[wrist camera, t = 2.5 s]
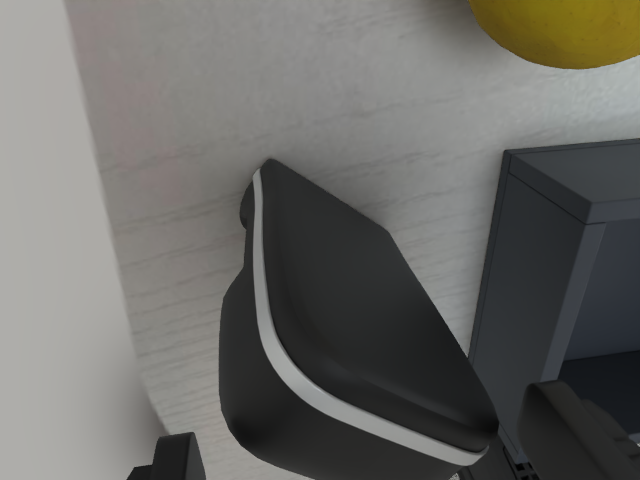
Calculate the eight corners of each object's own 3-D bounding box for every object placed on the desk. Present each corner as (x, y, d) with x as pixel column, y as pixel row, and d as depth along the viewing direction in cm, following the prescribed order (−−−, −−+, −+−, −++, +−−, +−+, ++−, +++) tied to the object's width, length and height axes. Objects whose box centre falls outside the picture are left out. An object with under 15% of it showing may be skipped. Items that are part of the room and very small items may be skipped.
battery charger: (214, 222, 19) (184, 477, 9) (264, 148, 18) (291, 349, 8) (343, 290, 22) (428, 543, 12) (393, 231, 20) (535, 456, 11)
